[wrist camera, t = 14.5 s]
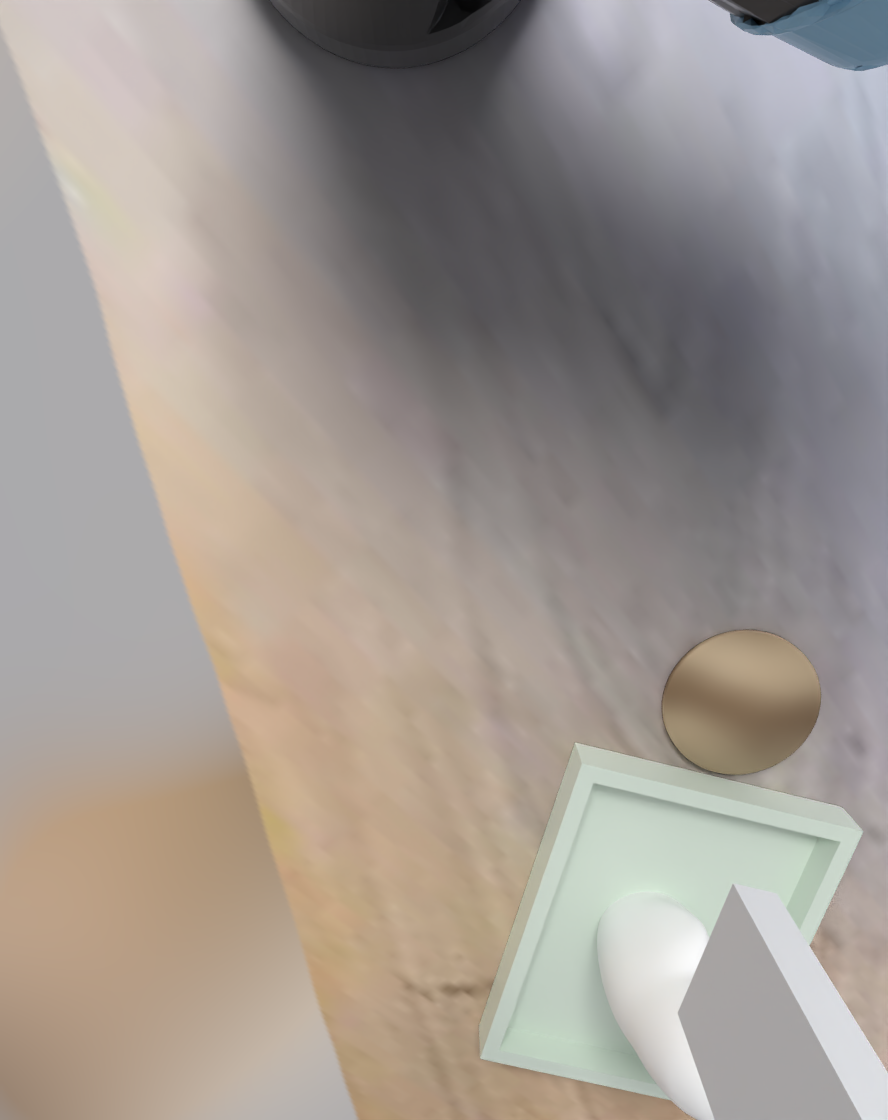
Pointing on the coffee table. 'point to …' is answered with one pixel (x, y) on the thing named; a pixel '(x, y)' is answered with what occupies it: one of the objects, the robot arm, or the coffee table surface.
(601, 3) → the coffee table surface
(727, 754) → the metal coaster
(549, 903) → the tray
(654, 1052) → the figurine
